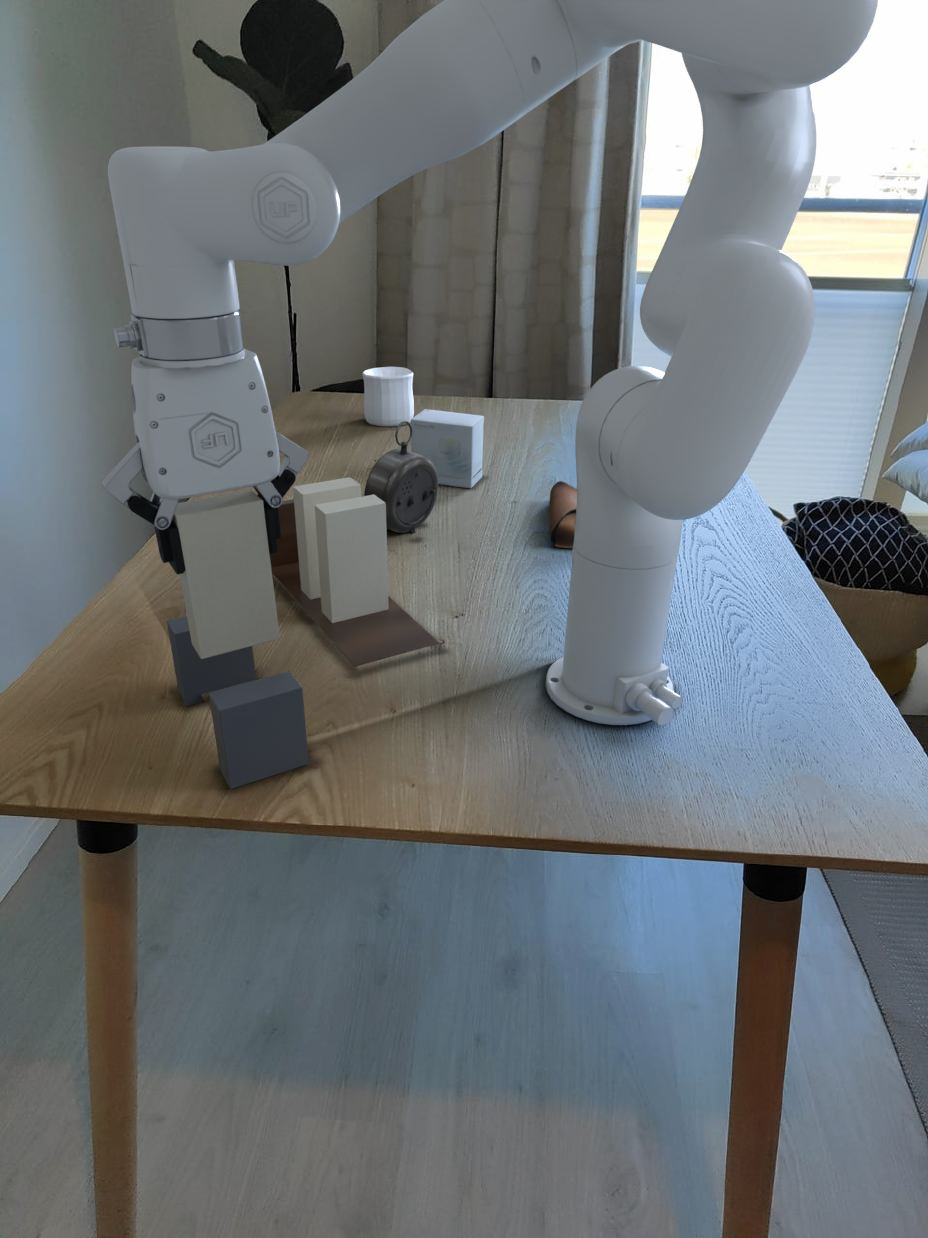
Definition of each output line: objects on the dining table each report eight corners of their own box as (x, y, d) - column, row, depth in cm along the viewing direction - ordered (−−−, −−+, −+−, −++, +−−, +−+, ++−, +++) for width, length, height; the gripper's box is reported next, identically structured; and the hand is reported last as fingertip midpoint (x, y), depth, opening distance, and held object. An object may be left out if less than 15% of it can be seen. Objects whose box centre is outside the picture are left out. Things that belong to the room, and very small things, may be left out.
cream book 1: (279, 638, 76) (263, 500, 69) (201, 659, 73) (176, 516, 66) (268, 624, 78) (251, 489, 72) (191, 644, 75) (166, 504, 69)
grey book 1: (257, 687, 85) (249, 616, 81) (186, 706, 82) (174, 634, 78) (247, 673, 87) (239, 604, 84) (178, 691, 84) (166, 620, 80)
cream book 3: (388, 609, 98) (385, 502, 92) (332, 623, 95) (325, 514, 89) (377, 599, 100) (374, 494, 94) (321, 612, 97) (314, 504, 91)
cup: (423, 419, 173) (422, 370, 168) (393, 430, 165) (392, 379, 161) (385, 411, 177) (383, 363, 173) (354, 422, 170) (352, 372, 165)
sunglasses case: (612, 547, 116) (591, 506, 114) (566, 569, 118) (543, 529, 116) (604, 501, 132) (585, 464, 129) (563, 521, 134) (543, 485, 131)
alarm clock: (416, 520, 125) (416, 409, 117) (444, 529, 122) (445, 417, 114) (363, 542, 117) (358, 425, 110) (391, 553, 114) (389, 434, 107)
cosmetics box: (410, 481, 140) (409, 417, 135) (424, 469, 145) (424, 408, 140) (471, 489, 137) (472, 424, 132) (483, 477, 142) (485, 414, 137)
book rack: (440, 650, 92) (440, 575, 88) (355, 674, 88) (351, 596, 83) (337, 556, 113) (334, 491, 109) (264, 571, 109) (257, 505, 104)
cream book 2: (365, 587, 103) (360, 484, 97) (310, 600, 100) (302, 494, 94) (354, 577, 105) (350, 476, 99) (301, 589, 102) (292, 486, 96)
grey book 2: (309, 764, 75) (302, 687, 71) (230, 789, 71) (218, 710, 68) (296, 746, 77) (289, 670, 73) (219, 770, 74) (208, 692, 70)
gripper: (73, 359, 56) (125, 600, 65) (320, 334, 64) (337, 552, 72) (56, 340, 62) (106, 563, 70) (285, 319, 70) (305, 523, 78)
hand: (223, 556), depth 71 cm, fingers closed on cream book 1, 7 cm apart
